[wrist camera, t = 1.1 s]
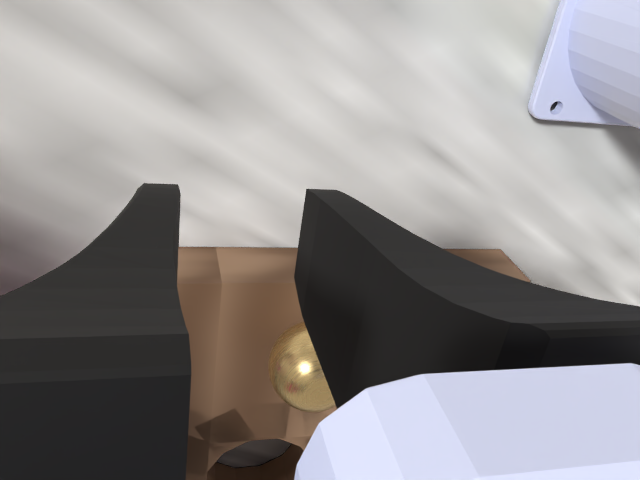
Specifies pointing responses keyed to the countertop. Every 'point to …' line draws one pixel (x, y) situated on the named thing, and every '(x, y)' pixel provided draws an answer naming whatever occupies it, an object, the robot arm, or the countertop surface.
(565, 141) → the countertop surface
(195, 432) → the brown square tray
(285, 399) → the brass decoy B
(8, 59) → the countertop surface
